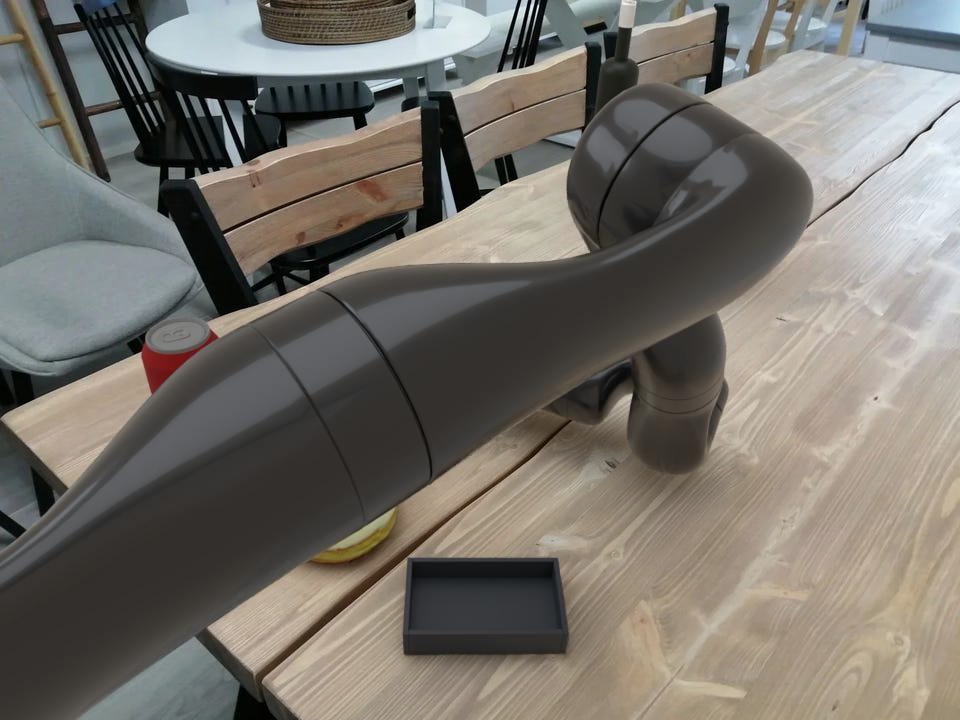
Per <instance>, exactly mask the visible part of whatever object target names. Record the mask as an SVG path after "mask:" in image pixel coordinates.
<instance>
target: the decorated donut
mask: <svg viewBox="0 0 960 720" xmlns="http://www.w3.org/2000/svg"><path fill="white" fill-rule="evenodd" d="M399 507H400V504H399V505H398V506H396V507H395V508H393V509H392V510H390V511H388V512H387V513H385V514H384V515H382V516H381V517H379V518H378V519H376V520H375V521H373V522H372V523H370V524H368V525H367V526H365V527H364V528H362V529H361V530H360V531H358V532H356V533H354V534H353V535H351V536H349V537H348V538H346V539H344V540H343V541H341V542H339V543H338V544H336V545H334V546H332V547H331V548H329V549H327V550H326V551H324V552H322V553H321V554H319V555H317V556H316V557H314V558H312V559H311V560H310V561H312V562H316V563H321V564H323V563H329V564H331V563H332V564H333V563H334V564H337V563H344V562H345V563H347V562H349V561H352V560H355V559H357V558H359V557H361V556H363V555H365V554H367V553H369V552H370V551H371V550H372V549H373V548H374V547H376V546H377V545H379V544H380V543H381V542H382V541H383V540H385V539H386V538H387V537H388V536H389V534H390V533H391V530H392V529H393V528H394V525H395V523H396V519H397V514H398V512H399V509H400V508H399Z"/></svg>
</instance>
